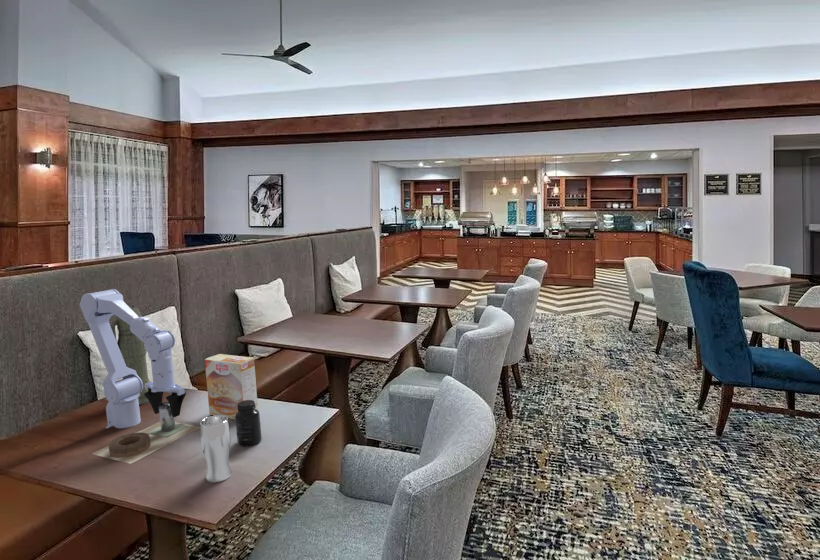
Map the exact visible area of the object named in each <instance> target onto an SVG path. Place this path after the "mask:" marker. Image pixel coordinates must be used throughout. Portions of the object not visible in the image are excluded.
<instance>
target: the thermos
mask: <svg viewBox="0 0 820 560" xmlns="http://www.w3.org/2000/svg"><path fill="white" fill-rule="evenodd" d="M128 306H129V307H130V308H131V309H132V310H133V311H134V312H135V313H136V314H137V315H138V316H139V317H142V314H141V312H140V310H139V307H138V306H135V305H128ZM115 320H116V321H114V322H112V323H111V324H110V327H111V329H112V332H113V334H114V337H115V339H116V342H117V344H118V347H119V349H120V352H121V354H122V357H123V359H124V362H125V364H126V367H128V368H131V369H133V370H135V371H136V373H137V375H138V376H139V377H140V379H141V380H142V382H143V390H142V391H141V392H140V396H139V397H138V401H139V405H140V406H144V405H146V404H148V403H150V402H149V400H148V399H147V398H146V397H145V396H144V393H146V392H148V390H145V384H146V383H149V382H151V381H150V380H149V375H148V367H147V366H148V365H147V356H146V355H147V354H148V352H147V351H146V349H145V346H144V344H145V343H144V342H143V341H142V340H140V339H139V338H138V337H137V336H136V335H134V334H133V333H132V332H131V331H130V325H129V324H127V323H126V322H125V321H123V320H122V319H120V318H119V317H118V316H116V315H115ZM116 327H117V333H118V334H117V333H116ZM117 337H118V338H117ZM122 379H124V378H122ZM143 404H144V405H143Z"/></svg>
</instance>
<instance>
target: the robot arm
mask: <svg viewBox="0 0 820 560" xmlns="http://www.w3.org/2000/svg"><path fill="white" fill-rule="evenodd" d="M129 306H130V305H128V304H127V303H126V302H125V300H124V296H123V294H122V293H120V292H119V291H118V290H117V289H115V288H110V289H107V290H102V291H97V292H96V291H95V292H91V293H89V292H87V293H84V294H83V295H82V297H81V300H80V303H79V307H80V310H81V312H82V315H83V317H84V320H85V321H86V323H87V324H88V327H89V329H90V333H91V334H92V337H93V340H94V342H95V344H96V346H97V349H98V353H99V354H100V357H101V359H102V362H103V365H104V367H105V370H106V372H107V375H106V376H105V378H104V379H103V380H102V386H103V387H102V388H103V394H104V398H105V399H106V400H107V401H108V402H107V404H106V407H105V411H106V412H105V414H106V419H107V420H106V421H107V426H105V428H104V429H109V428H111V427H114V428H116V429H128V428H132V427H134V426H137V425H139V424H140V423H141V421H142V420H141V412H140V406H139V401H138V397H139V396H140V392H141V391H142V390H143V382H142V380H141V379H140V377H139V376H138V375H137V373H136V371H135V370H133V369H131V368H128V367H126V364H125V362H124V359H123V357H122V354H121V352H120V349H119V347H118V344H117V342H116V340H117V338H116V339H115V337H114V334H113V332H112V329H111V324H110V319H111V317H113V316H115V317H116V316H118V317H119V318H120V319H122V320H123V321H125V322H126V323H127V324H129V325H130V331H131V332H132V333H133V334H134V335H136V336H137V337H138V338H139V339H140V340H142V341H143V342H144V343H145V344H144V346H145V349H146V351H147V355H148V358H149V360H150V364H151V372H152V373H151V375H152V381H150V382H149V383H146V384H145V390H148V392H146V393H144V396H145V397H146V398H147V399H148V400H149V402H148V403H149V404H150V405H151V407H152V410H153V413H154V414H155V415H157V414H159V404H161V403H163V395H164V393H169V395H167V396H166V397H165V399H166V400H167V402H169V405H170V408H171V413H172V417H175V418H176V417H178V416H180V414H181V409H182V404H183V402H184V399H185V397H186V396H187V392H186V391H185V386H181V385H179V384H178V383H175V374H174V366H173V364H174V363H173V354H172V348H174V346H175V343H176V338H175V336H174V335H173V333H172V332H171V331H170V330H168V329H165V330H164V329H162V328H161V329H160V327H158V326H157V325H155V324H154V323H153V322H152V321H151V320H150V319H149V317H146V316H141V317H139V316H138V315H137V314H136V313H135V312H134V311H133V310H132V309H131V308H130V307H129ZM123 378H124V379H123Z"/></svg>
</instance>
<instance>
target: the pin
mask: <svg viewBox="0 0 820 560" xmlns="http://www.w3.org/2000/svg"><path fill="white" fill-rule="evenodd" d="M158 414H159V422H160V424H161V431H162V432H169V431H172V430H174V429H175V428H176V426H175V422H176V420H175V419H176V417H172V413H171V408H170V405H169V402H168V401H164V402H162V403H161V404H159V413H158Z"/></svg>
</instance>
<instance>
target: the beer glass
mask: <svg viewBox="0 0 820 560" xmlns="http://www.w3.org/2000/svg"><path fill="white" fill-rule="evenodd" d="M199 427H200V428H199V435H200V436H199V439H200V445H201V449H202V453H203V457H204V459H205V462H206V474H205V480H206V481H207V482H208V483H221V482H224V481H226V480H228V479H229V478H230V477H231V476H232V475H233V473H232V469H231V466H230V449H231V447H230V446H231V432H230V431H231V429H230V424H229V418H228V417H227V416H224V415H215V416H210V415H209V416H207V417H205V418H203V419H201V420H200V421H199Z"/></svg>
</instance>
